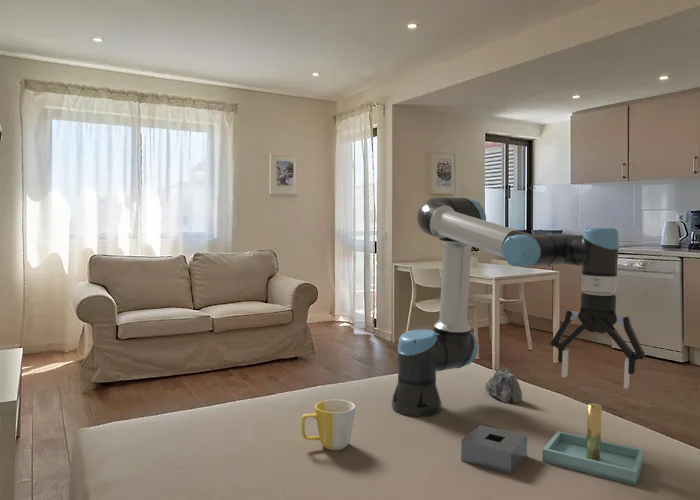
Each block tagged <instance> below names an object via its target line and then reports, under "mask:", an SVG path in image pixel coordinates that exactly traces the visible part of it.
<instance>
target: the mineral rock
mask: <svg viewBox="0 0 700 500" xmlns="http://www.w3.org/2000/svg"><path fill="white" fill-rule="evenodd" d="M484 388H485V391H487V392H488V394H490V395H491V396H492V397H493V396H494V397H496V399H499V400H500V401H502V402H504V403H508V404H511V403H515V404H516V403H520V402H521V401H522V399H523V391H522V389H521V385H520V383H519V381H518V379H517V378H516V376H515V375H514V373H511V372H510V370H509V369H508V368H506V367H504V368H500V369H499V370H496V371H495V372H494V374H493V376H491V377H490V378H489V379H488V380H487V382H485V386H484Z"/></svg>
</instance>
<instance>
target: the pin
mask: <svg viewBox="0 0 700 500" xmlns="http://www.w3.org/2000/svg"><path fill="white" fill-rule="evenodd" d="M602 410H603V409H602V404H599V403H594V402H589V403H588V404H587V420H586V421H587V422H586V424H587V425H586V437H587V451H586V458H588V459H592V460H596V461H600V444H601V439H602V438H601V437H602Z"/></svg>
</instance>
